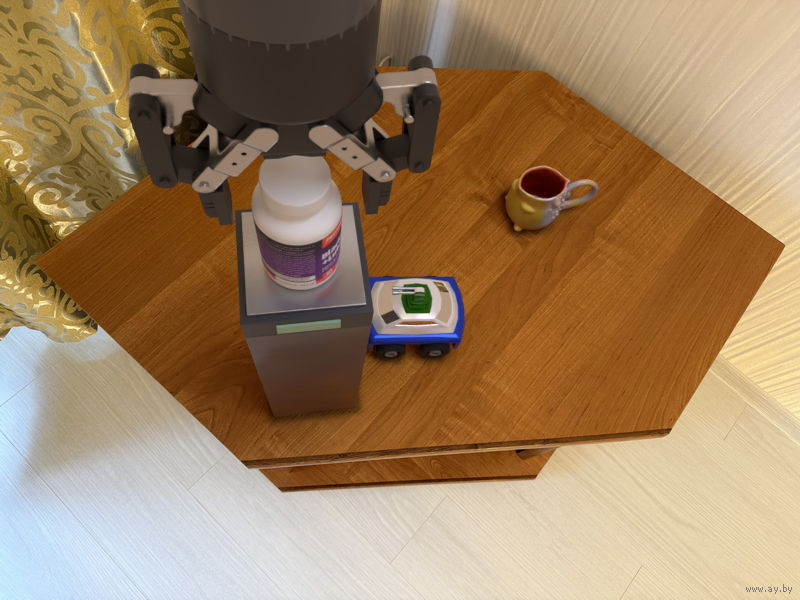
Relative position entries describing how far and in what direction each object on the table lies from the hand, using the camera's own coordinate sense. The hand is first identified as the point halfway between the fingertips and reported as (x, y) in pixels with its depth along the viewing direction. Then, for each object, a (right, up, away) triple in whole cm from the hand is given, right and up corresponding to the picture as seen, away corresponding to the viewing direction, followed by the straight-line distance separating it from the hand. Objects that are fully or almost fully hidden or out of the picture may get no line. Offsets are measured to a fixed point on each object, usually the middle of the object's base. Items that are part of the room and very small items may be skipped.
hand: (298, 207), depth 36 cm
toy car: (+7, -8, +36) cm, 37 cm away
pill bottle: (-1, -3, +6) cm, 7 cm away
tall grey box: (-4, -14, +32) cm, 35 cm away
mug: (+26, +6, +44) cm, 52 cm away
